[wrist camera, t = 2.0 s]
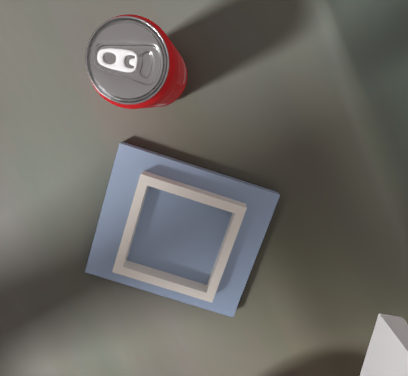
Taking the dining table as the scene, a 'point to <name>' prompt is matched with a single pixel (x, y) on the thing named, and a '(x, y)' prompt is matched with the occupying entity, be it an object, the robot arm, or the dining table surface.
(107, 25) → the beverage can
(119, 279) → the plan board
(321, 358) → the dining table surface
